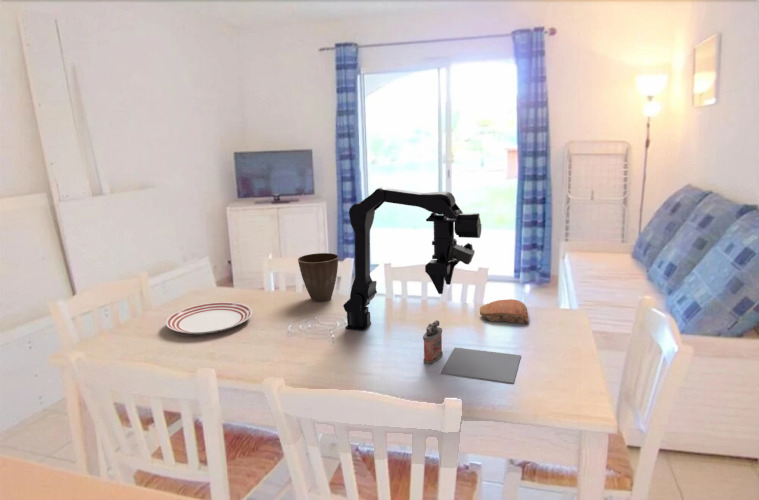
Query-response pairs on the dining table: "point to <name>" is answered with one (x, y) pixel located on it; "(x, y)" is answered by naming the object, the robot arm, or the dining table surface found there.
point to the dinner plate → (209, 317)
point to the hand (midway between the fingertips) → (444, 289)
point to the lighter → (432, 343)
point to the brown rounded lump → (505, 311)
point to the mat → (482, 365)
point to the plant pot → (319, 274)
